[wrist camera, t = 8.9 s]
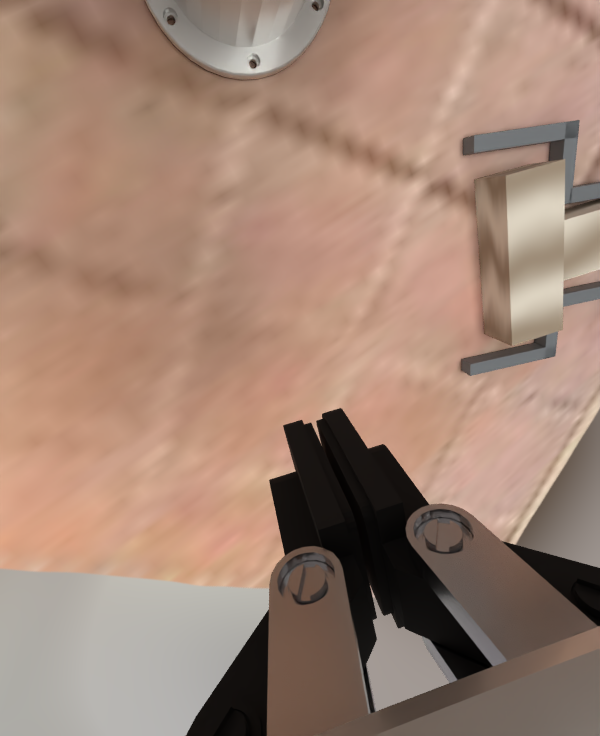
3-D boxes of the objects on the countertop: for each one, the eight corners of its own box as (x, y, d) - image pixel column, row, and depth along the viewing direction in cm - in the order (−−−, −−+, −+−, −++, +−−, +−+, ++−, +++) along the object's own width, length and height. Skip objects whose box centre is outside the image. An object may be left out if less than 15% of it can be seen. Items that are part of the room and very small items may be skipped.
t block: (474, 179, 34) (505, 175, 30) (620, 138, 35) (668, 130, 32) (484, 333, 39) (512, 346, 36) (611, 293, 41) (650, 301, 37)
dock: (463, 138, 32) (474, 135, 31) (657, 110, 35) (675, 106, 34) (461, 370, 40) (470, 375, 39) (620, 334, 43) (633, 338, 41)
